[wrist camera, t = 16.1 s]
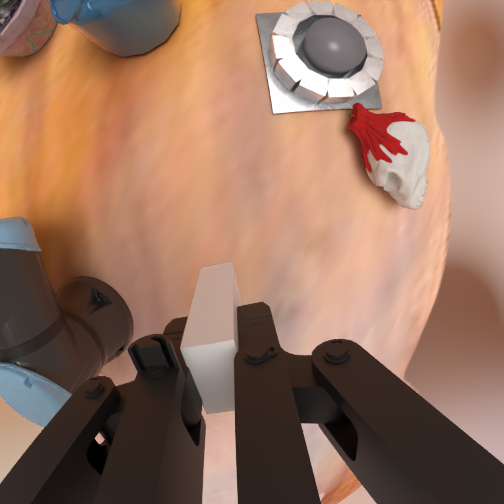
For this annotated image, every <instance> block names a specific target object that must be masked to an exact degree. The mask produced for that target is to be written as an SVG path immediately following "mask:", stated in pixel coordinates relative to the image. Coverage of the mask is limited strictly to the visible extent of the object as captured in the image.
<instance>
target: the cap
mask: <svg viewBox="0 0 504 504" xmlns="http://www.w3.org/2000/svg"><path fill="white" fill-rule="evenodd" d="M365 54H366V45H365V41H364V39H363V37H362V35H361V34H360V32H359V31H358V30H357V29H356V28H355V27H354V26H352V25H351V24H349V23H348V22H346V21H344V20H341V19H337V18H322V19H319V20H317V21H315V22H314V23H313V24H312V25H311V26H310V28H309V30H308V31H307V33H306V35H305V37H304V39H303V41H302V43H301V44H300V47H299V50H298V57H299V59H300V60H301V61H302V62H303V63H304V64H305V66H306V67H307V68H308V69H309V70H311V71H313V72H315V73H317V74H320V75H322V76H324V77H326V78H328V79H340V78H342V77H343V76H345V75H346V74H347V73H348V72H350V71H351V70H352V69H353V68H355V67H356V66H357V65H359V64H360V63H361V62H362V61H363V59H364V57H365Z"/></svg>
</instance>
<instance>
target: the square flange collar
mask: <svg viewBox="0 0 504 504" xmlns="http://www.w3.org/2000/svg"><path fill="white" fill-rule="evenodd" d="M322 18H337V19H341V20H344V21H346V22H348V23H349V24H351V25H352V26H354V27H355V28H356V29H357V30H358V31H359V32H360V34H361V35H362V37H363V39H364V41H365V45H366V54H365V57H364V59H363V61H362V62H361V63H360V64H359V65H357V66H356V67H355V68H353V69H352V70H351V71H350V72H348V73H347V74H346V75H345V76H343V77H342V78H340V79H328V78H326V77H324V76H322V75H320V74H317V73H315V72H313V71H311V70H309V69H308V68H307V67H306V66H305V64H304V63H303V62H302V61H301V60H300V59H299V57H298V50H299V47H300V44H301V43H302V41H303V39H304V37H305V35H306V33H307V31H308V30H309V28H310V26H311V25H312V24H313V23H314V22H315V21H317V20H319V19H322ZM256 21H257V26H258V31H259V36H260V42H261V47H262V52H263V58H264V63H265V69H266V75H267V81H268V87H269V92H270V99H271V105H272V111H273V114H282V113H293V112H305V111H320V110H343V109H352V105H353V104H355V103H357V102H358V103H361V104H362V105H363V106H364V107H365V108H366V109H382V103H381V98H380V92H379V87H378V82H377V81H378V79H379V76H380V73H381V70H382V68H383V65H384V62H383V61H382V60H383V59H384V55H383V51H382V47H381V43H380V39H379V37H375V36H376V35H377V33H376V32H375V31H374V30H373V29H372V27H371V26H370V25H369V24H368V23H367V22H366V21H365V19H364V18H363V17H362V16H361V15H358V13H356V12H354V11H352V10H350V9H348V8H346V7H344V6H342V5H340V4H338V3H335V4H334V6H333V4H332V2H329V1H307V3H305V2H302V3H300V4H298V5H296V6H294V7H292V8H290V9H288V10H286V11H284V12H280V13H263V14H256Z"/></svg>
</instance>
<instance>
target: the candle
mask: <svg viewBox="0 0 504 504" xmlns="http://www.w3.org/2000/svg"><path fill="white" fill-rule="evenodd" d="M351 116H352V117H351V120H350V123H349V124H348V128H349V129H350V130H351V131H353V132H354V133H356V135H357V137H358V138H359V140H360V142H361V145H362V157H363V160H364V163H365V166H366V171H367V174H368V176H369V178H370V179H371V180H372V182H373V183H374V184H375V185H376V186H381V187H382V186H383V188H384V190H385V191H387V192H389V193H390V195H391V196H392V197H393V198H394V199H395V200H396V201H397V202H398V203H399V204H400V205H401V206H402V207H404V208H408V209H412V210H416V209H418V208H419V207H422V204H421V203H420V202H423V201H424V198H423V197H422V196H425V193H426V192H425V190H426V188H427V186H426V184H427V180H426V175H425V172H426V170H427V167H428V162H429V156H430V141H429V136H428V133H427V130H426V128H425V127H424V125H422V124H421V123H420V122H419V121H417V120H415V119H413V118H410V117H408V116H406V115H405V113H401V112H394V113H389V114H384V113H383V114H375V113H372V112H369V111H368V110H367V109H366V108H365V107H364V106H363V105H362V104H361V103H358V102H357V103H355V104H353V105H352V115H351ZM418 206H419V207H418Z"/></svg>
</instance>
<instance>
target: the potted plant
mask: <svg viewBox="0 0 504 504" xmlns="http://www.w3.org/2000/svg"><path fill="white" fill-rule="evenodd" d="M56 25H57V21H56V20H55V19H54V17H53V15H52V12H51V8H50V3H49V1H48V0H0V57H7V56H29V55H33V54H34V53H36V52H37V51H39V50H40V49H41V48H42V47H43V46H44V45H45V44H46V43H47V41H48V40H49V39H50V37H51V36H52V34H53V32H54V30H55V28H56Z"/></svg>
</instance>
